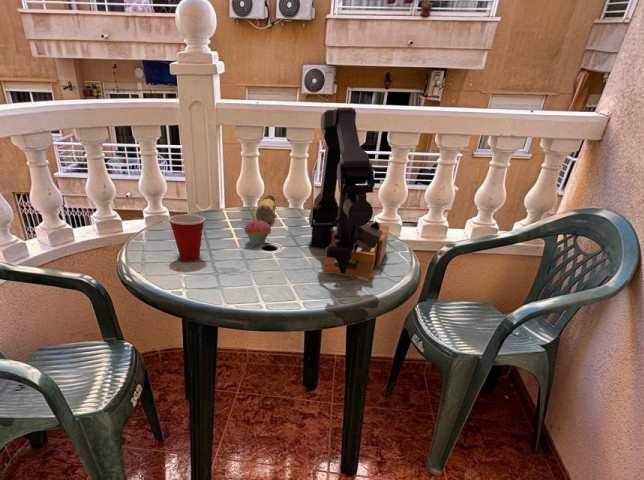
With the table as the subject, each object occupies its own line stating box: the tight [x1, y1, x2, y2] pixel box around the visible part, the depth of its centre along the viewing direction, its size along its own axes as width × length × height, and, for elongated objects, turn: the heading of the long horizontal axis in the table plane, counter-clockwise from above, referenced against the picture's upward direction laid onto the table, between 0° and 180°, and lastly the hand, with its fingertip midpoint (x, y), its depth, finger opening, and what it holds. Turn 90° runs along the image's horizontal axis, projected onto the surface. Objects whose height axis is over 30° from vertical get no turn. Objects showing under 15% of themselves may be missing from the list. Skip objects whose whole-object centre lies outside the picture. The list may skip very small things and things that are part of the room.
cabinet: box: [331, 222, 391, 270], centre depth 147 cm, size 14×15×9 cm
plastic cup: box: [167, 214, 206, 262], centre depth 145 cm, size 11×11×12 cm
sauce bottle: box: [255, 195, 277, 224], centre depth 180 cm, size 6×6×20 cm
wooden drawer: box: [323, 239, 379, 279], centre depth 137 cm, size 17×13×7 cm
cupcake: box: [244, 205, 272, 246], centre depth 156 cm, size 9×8×12 cm
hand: (343, 272), depth 130 cm, fingers closed
